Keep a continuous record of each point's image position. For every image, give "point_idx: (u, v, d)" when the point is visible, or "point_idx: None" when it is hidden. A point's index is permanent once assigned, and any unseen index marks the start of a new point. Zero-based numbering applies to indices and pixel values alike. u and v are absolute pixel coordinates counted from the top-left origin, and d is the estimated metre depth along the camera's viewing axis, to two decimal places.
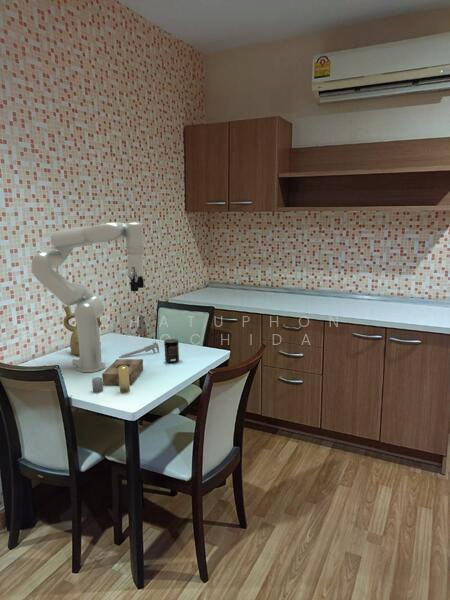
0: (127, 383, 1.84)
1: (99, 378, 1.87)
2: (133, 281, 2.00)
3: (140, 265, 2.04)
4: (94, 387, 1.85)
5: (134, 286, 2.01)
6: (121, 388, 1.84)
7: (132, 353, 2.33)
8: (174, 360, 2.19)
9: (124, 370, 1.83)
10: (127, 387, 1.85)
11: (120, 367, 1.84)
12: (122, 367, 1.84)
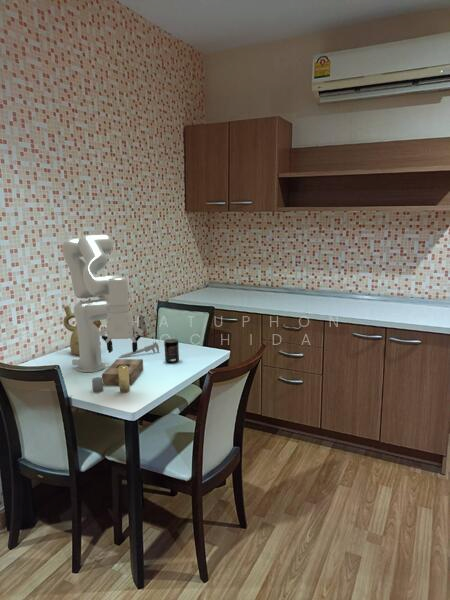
0: (127, 383, 1.84)
1: (99, 378, 1.87)
2: (137, 340, 1.82)
3: None
4: (94, 387, 1.85)
5: None
6: (121, 388, 1.84)
7: (132, 353, 2.33)
8: (174, 360, 2.19)
9: (124, 370, 1.83)
10: (127, 387, 1.85)
11: (120, 367, 1.84)
12: (122, 367, 1.84)
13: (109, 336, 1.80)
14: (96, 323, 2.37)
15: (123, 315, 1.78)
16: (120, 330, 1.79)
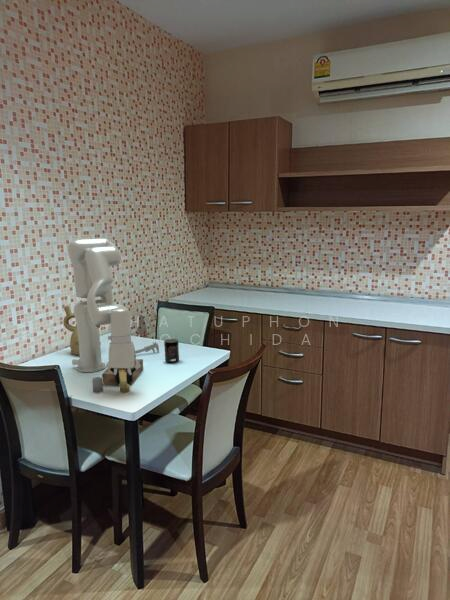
0: (127, 383, 1.84)
1: (99, 378, 1.87)
2: None
3: None
4: (94, 387, 1.85)
5: (132, 377, 1.85)
6: (121, 388, 1.84)
7: None
8: (174, 360, 2.19)
9: (124, 370, 1.83)
10: (127, 387, 1.85)
11: None
12: None
13: (111, 366, 1.82)
14: None
15: (125, 346, 1.80)
16: (122, 360, 1.81)
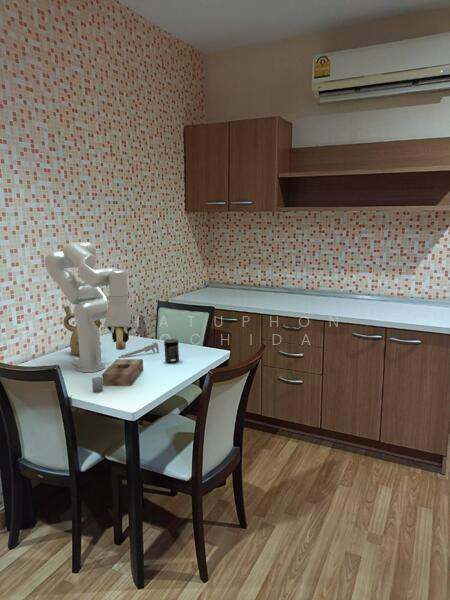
0: (123, 341, 1.97)
1: (99, 378, 1.87)
2: (128, 332, 1.97)
3: None
4: (94, 387, 1.85)
5: (128, 336, 1.97)
6: (117, 345, 1.96)
7: (132, 353, 2.33)
8: (174, 360, 2.19)
9: (120, 329, 1.95)
10: (123, 345, 1.97)
11: None
12: None
13: (108, 324, 1.94)
14: (96, 323, 2.37)
15: (122, 305, 1.92)
16: (119, 319, 1.93)
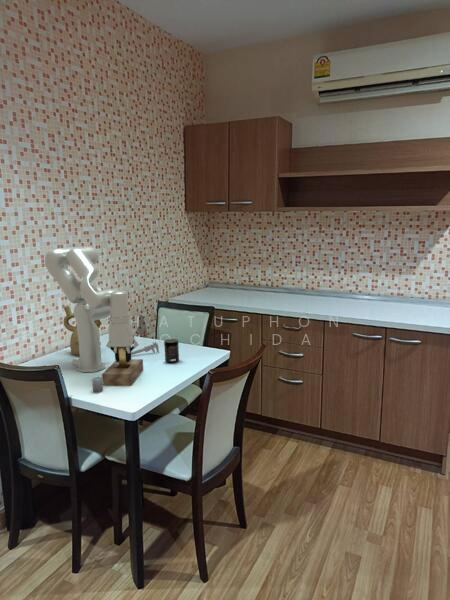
0: (126, 361, 2.00)
1: (99, 378, 1.87)
2: None
3: None
4: (94, 387, 1.85)
5: (130, 356, 2.01)
6: (121, 365, 1.99)
7: (132, 353, 2.33)
8: (174, 360, 2.19)
9: (123, 349, 1.98)
10: (126, 364, 2.00)
11: None
12: None
13: (111, 345, 1.97)
14: (96, 323, 2.37)
15: (124, 326, 1.95)
16: (121, 339, 1.96)
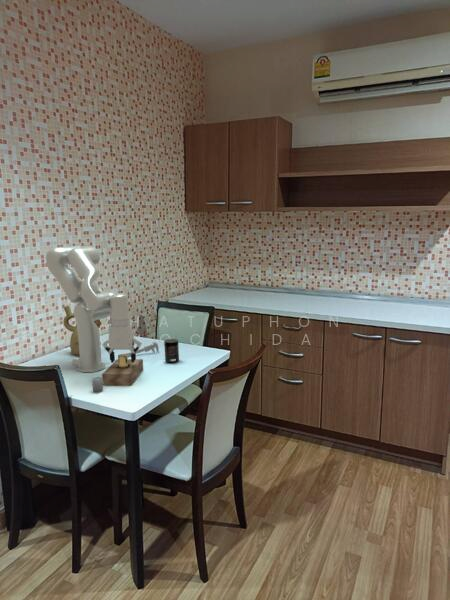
0: None
1: (99, 378, 1.87)
2: None
3: None
4: (94, 387, 1.85)
5: (135, 356, 2.01)
6: None
7: None
8: (174, 360, 2.19)
9: (123, 358, 1.99)
10: None
11: (120, 355, 2.00)
12: (121, 355, 2.00)
13: (111, 347, 1.98)
14: (96, 323, 2.37)
15: (124, 328, 1.96)
16: (121, 342, 1.97)
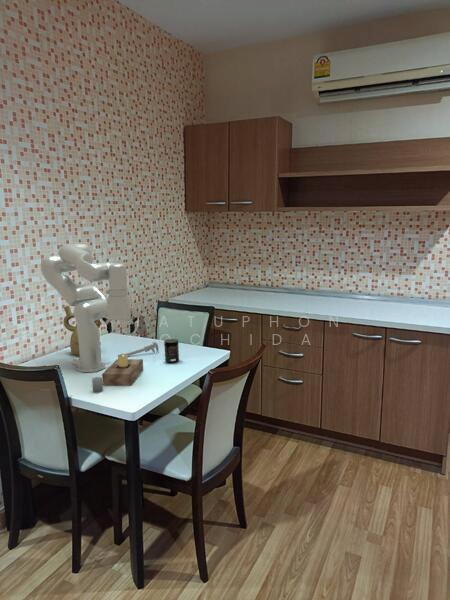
0: None
1: (99, 378, 1.87)
2: (134, 322, 1.98)
3: None
4: (94, 387, 1.85)
5: (134, 327, 1.98)
6: None
7: (132, 353, 2.33)
8: (174, 360, 2.19)
9: (123, 358, 1.99)
10: None
11: (120, 355, 2.00)
12: (121, 355, 2.00)
13: (109, 318, 1.95)
14: (96, 323, 2.37)
15: (122, 299, 1.94)
16: (119, 312, 1.95)
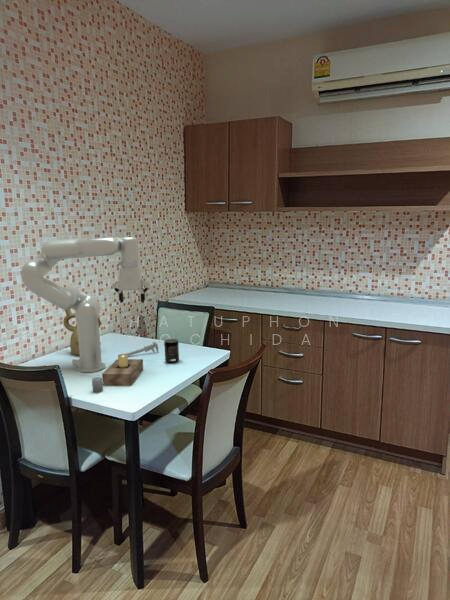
0: None
1: (99, 378, 1.87)
2: None
3: None
4: (94, 387, 1.85)
5: (144, 297, 2.12)
6: None
7: (131, 353, 2.33)
8: (174, 360, 2.19)
9: (123, 358, 1.99)
10: None
11: (120, 355, 2.00)
12: (121, 355, 2.00)
13: (121, 288, 2.09)
14: None
15: (133, 270, 2.07)
16: (130, 282, 2.08)
